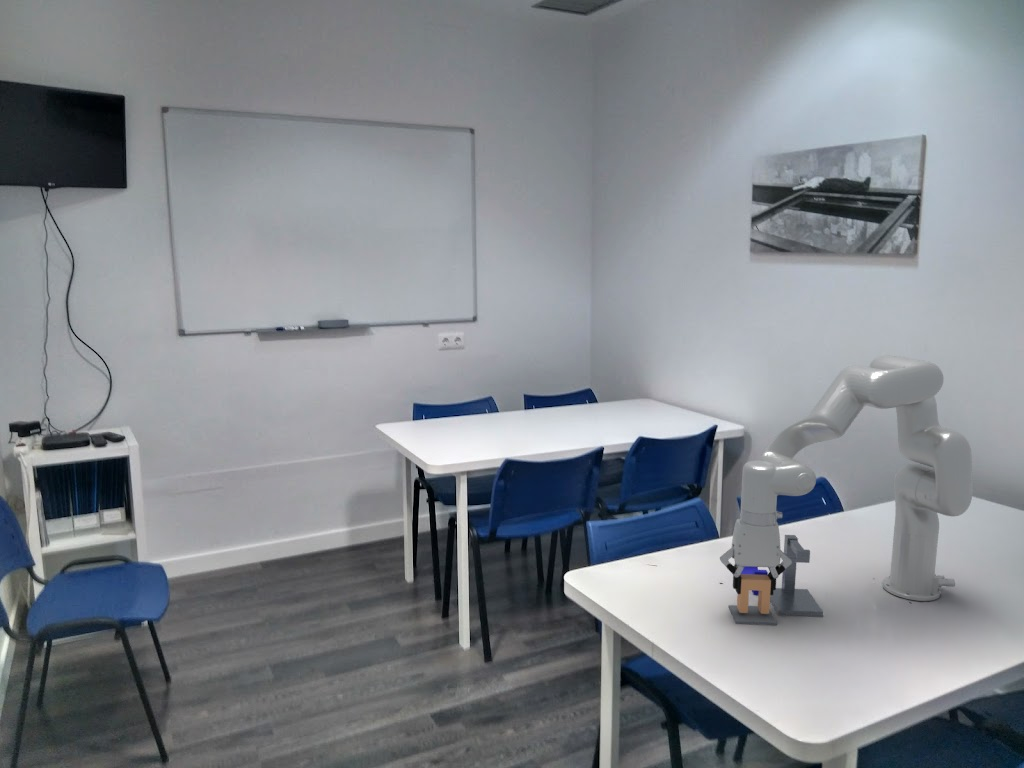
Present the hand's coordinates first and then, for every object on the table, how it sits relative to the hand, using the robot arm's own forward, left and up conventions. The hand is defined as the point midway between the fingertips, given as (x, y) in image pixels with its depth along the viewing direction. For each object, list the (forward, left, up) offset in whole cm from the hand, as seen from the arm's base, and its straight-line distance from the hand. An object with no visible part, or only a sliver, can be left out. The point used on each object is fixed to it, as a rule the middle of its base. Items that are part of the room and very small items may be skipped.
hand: (753, 591), depth 172 cm
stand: (-11, -7, -6) cm, 14 cm away
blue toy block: (-4, -17, -6) cm, 19 cm away
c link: (0, 0, -5) cm, 5 cm away
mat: (0, 0, -6) cm, 6 cm away
